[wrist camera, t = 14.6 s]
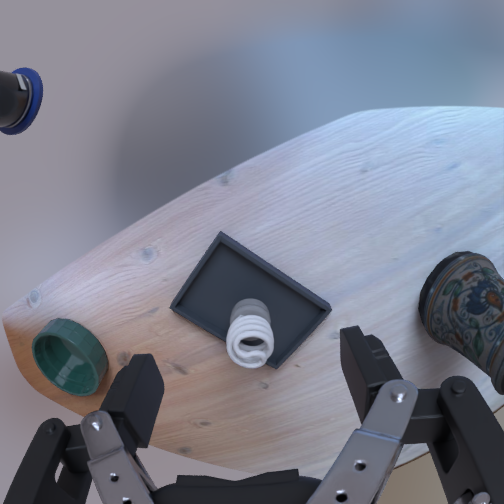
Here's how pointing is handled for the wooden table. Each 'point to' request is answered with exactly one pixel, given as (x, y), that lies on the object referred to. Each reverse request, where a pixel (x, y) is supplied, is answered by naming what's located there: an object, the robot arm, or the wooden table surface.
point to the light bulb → (250, 333)
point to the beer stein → (467, 311)
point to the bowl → (70, 357)
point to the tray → (248, 286)
